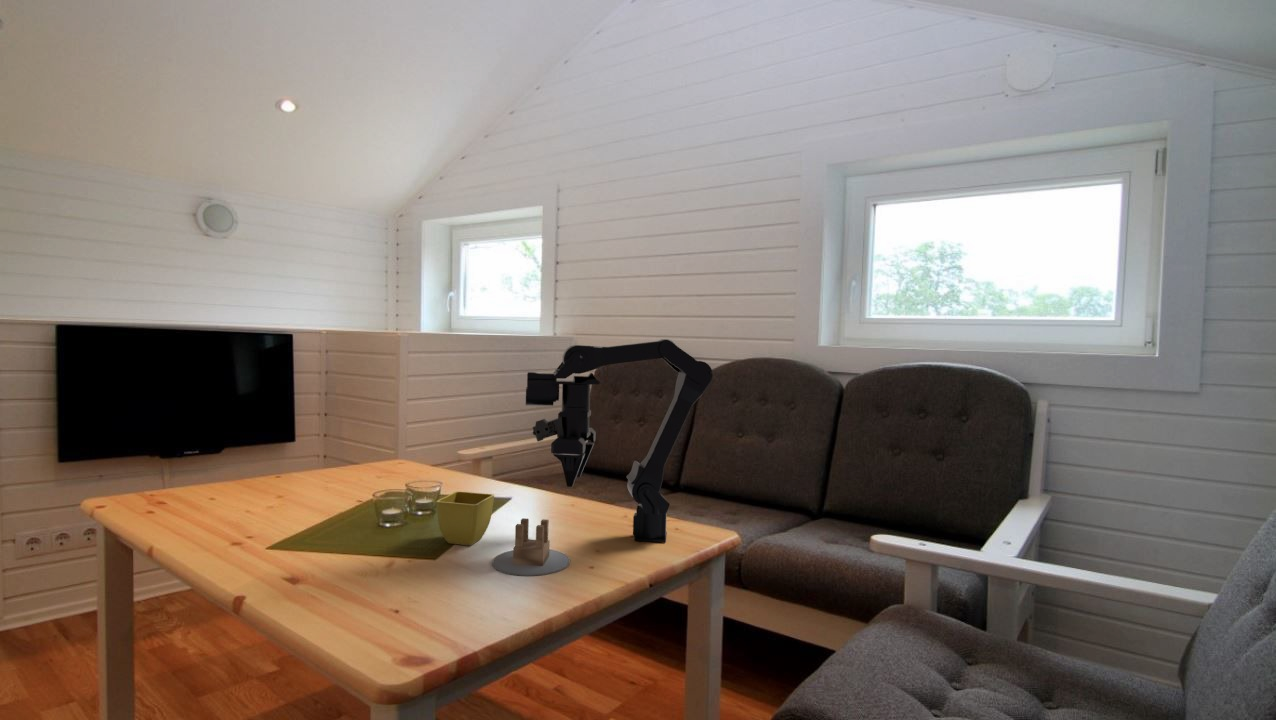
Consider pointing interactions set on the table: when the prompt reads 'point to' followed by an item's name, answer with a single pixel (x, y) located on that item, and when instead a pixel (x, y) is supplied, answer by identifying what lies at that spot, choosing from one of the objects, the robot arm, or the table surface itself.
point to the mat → (552, 565)
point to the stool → (531, 544)
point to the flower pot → (464, 516)
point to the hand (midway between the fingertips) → (573, 481)
